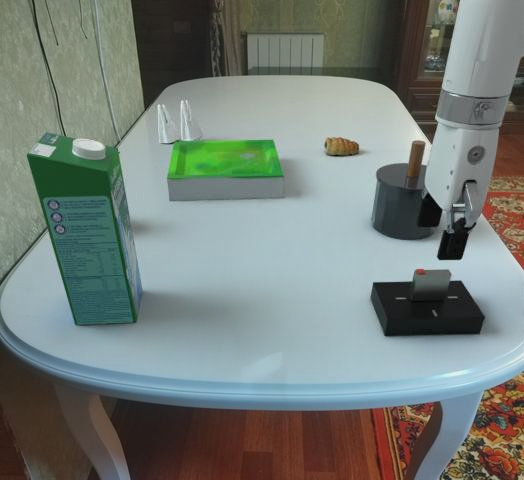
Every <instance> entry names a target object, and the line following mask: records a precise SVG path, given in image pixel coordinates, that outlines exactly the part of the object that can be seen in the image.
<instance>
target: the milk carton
mask: <svg viewBox="0 0 524 480" xmlns="http://www.w3.org/2000/svg"><path fill="white" fill-rule="evenodd" d="M26 160H27V163H28V166H29V169H30V173H31V176H32V180H33V183H34V187H35V190H36V194H37V198H38V200H39V204H40V208H41V211H42V215H43V218H44V221H45V222H44V223H45V225H46V228H47V232H48V236H49V239H50V242H51V246H52V249H53V252H54V256H55V261H56V263H57V267H58V270H59V274H60V277H61V281H62V285H63V287H64V291H65V295H66V297H67V302H68V306H69V308H70V312H71V316H72V319H73V323H74V325H75V326H79V325H80V326H84V325H105V324H125V323H126V324H127V323H128V324H129V323H137V320H138V315H139V311H140V310H139V309H140V305H141V301H142V295H143V285H142V284H143V283H142V279H141V272H140V269H139V261H138V256H137V250H136V245H135V238H134V233H133V232H134V231H133V227H132V222H131V216H130V215H131V214H130V210H129V204H128V199H127V192H126V188H125V187H126V186H125V182H124V181H125V180H124V176H123V169H122V164H121V158H120V153H119V148H118V147H115V146H110V145H106V144H103V143H102V142H100V141H97V140H96V139H95V140H94V139H90V138H89V139H88V138H74V137H71V136H66V135H61V134H57V133H52V132H47V131H46V132H45V133H44V134H43V135H42V136H41V138H39V140H38V141H37V142H36V143H35V144H34V145H33V147H32V148H31V149H30V150H29V151H28V152H27V154H26Z"/></svg>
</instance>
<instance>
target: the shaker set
mask: <svg viewBox="0 0 524 480" xmlns="http://www.w3.org/2000/svg"><path fill="white" fill-rule="evenodd" d="M157 128H158V144H159V145H160V144H170V143H174V142H177V140H180V139H181V142H185V141H201V138H202V137H203V135H204V133H203V131H202V129H201V126H200V124H199V122H198V119H197V117H196V115H195V113H194V110H193V109H192V106H191V104H190V103H189V101H188V100H187V99H186V100H181V101H180V133H179V131H178V130H177V127H176V125H175V123H174V120H173V118H172V117H171V115H170V112H169V111H168V109H167V106H166V105H165V104H162V106H161V104H158V105H157ZM180 135H181V136H180Z"/></svg>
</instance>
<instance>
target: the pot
mask: <svg viewBox="0 0 524 480" xmlns="http://www.w3.org/2000/svg"><path fill="white" fill-rule="evenodd" d="M373 199H374V200H373V205H372V213H371V218H370V219H371V220H370V222H371V226H372V228H373V229H374V230H375V231H376V232H378V233H379V234H381V235H383V236H385V237H389V238H393V239H397V240H402V241H403V240H406V241H415V240H422V239H426V238H429V237H431V236H433V235H434V234H435V233H436V231H437V227H418V226H417V224H416V223H417V218H418V214H419V209H420V204H421V200H422V199H426V198H422V192H407V191H401V190H397V189H393V188H390V187H387V186H385V185H383V184H381V183H380V182H379V181H378V180H377V179H376V185H375V192H374V198H373Z"/></svg>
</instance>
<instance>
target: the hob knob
mask: <svg viewBox="0 0 524 480" xmlns="http://www.w3.org/2000/svg"><path fill="white" fill-rule="evenodd" d="M452 275H453V274H452V272H451V271H450V269H445V268H444V269H424V268H416V269H414V271H413V276H412V280H411V281H412V284H411V289H410V294H409V297H410V299H411V301H444V300H445V297H446V294H447V290H448V286H449V283H450V281H451V279H452Z"/></svg>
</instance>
